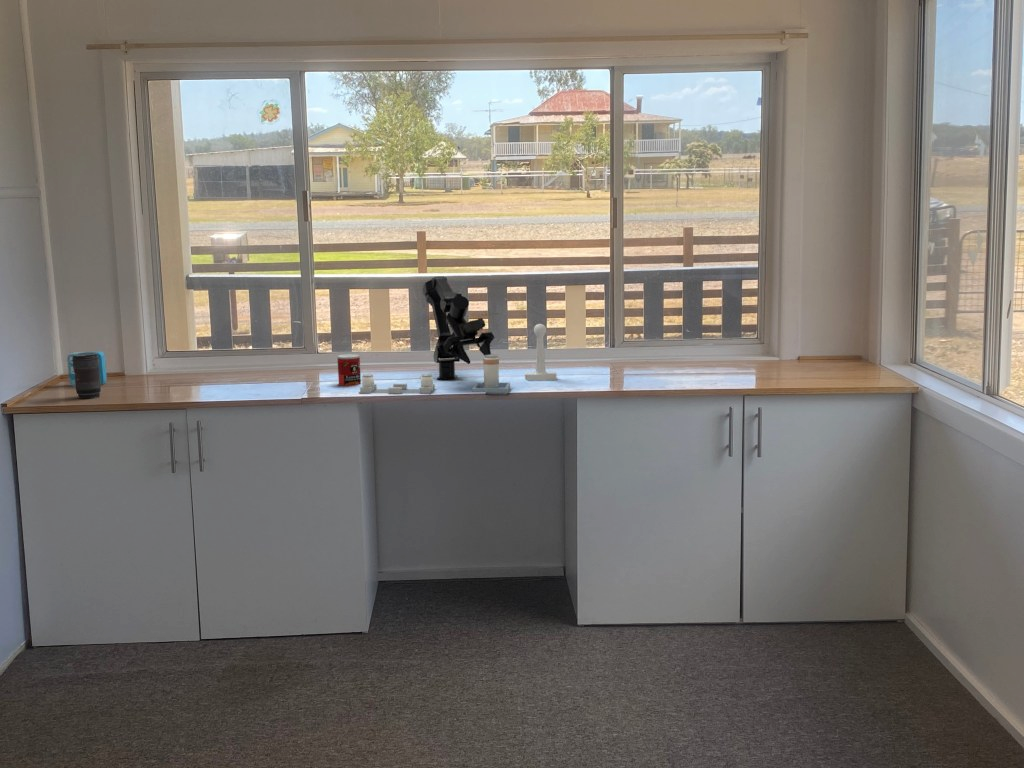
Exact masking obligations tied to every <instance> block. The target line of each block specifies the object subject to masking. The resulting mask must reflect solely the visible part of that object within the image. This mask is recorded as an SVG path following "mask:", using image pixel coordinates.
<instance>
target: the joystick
mask: <svg viewBox="0 0 1024 768" xmlns="http://www.w3.org/2000/svg"><path fill="white" fill-rule="evenodd" d="M533 332H534V335H535V336H536V354H535V356H536V357H535V371H534V372H525V373H524V380H546V381H555V380H554V379H556V380H557V372H556V371H552V372H551V371H549V372H546V371H547V370H546V357H545V344H544V343H545V342H544V337H545V335H546V333H547V328H546V325H544V324H542V323H537V324H535V326H534V327H533Z"/></svg>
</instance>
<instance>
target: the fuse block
mask: <svg viewBox="0 0 1024 768" xmlns="http://www.w3.org/2000/svg"><path fill="white" fill-rule="evenodd" d="M377 386H378V385H377V383H374V388H375V391H374V392H372V387H362V386H361V387H360V388H359V392H358V394H389V395H390V394H396V395H397V394H400V395H401V394H434V393H435V392H436V390H438V389H436V388H435V387H436V385H435V383H433V392H431V387H421V386H420V387H419V388H409V389H408V383H393V384H392V387H388V388H380V389H379V388H377Z"/></svg>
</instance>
